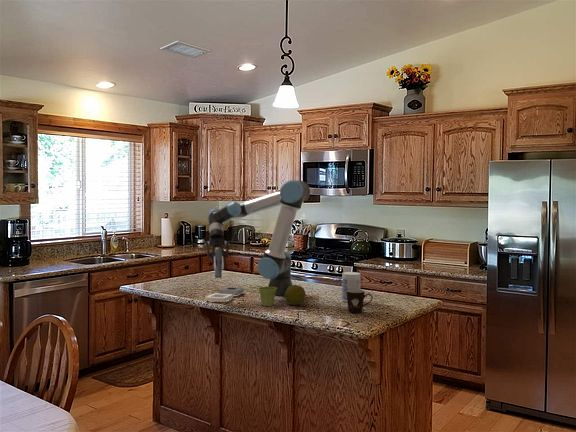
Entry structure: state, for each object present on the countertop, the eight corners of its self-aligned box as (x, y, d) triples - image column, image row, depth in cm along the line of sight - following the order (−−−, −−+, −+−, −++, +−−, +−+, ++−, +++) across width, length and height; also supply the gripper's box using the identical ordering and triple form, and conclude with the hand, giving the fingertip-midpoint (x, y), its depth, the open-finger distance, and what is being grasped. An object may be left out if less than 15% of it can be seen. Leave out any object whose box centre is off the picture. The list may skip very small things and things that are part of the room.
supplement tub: (339, 302, 268) (339, 273, 267) (345, 298, 276) (345, 271, 276) (357, 304, 264) (357, 275, 263) (362, 300, 272) (362, 272, 272)
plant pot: (254, 305, 261) (254, 287, 261) (269, 302, 267) (269, 285, 267) (265, 308, 254) (265, 290, 254) (280, 305, 260) (280, 288, 260)
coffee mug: (342, 312, 244) (342, 291, 244) (351, 309, 252) (351, 288, 251) (365, 315, 238) (365, 294, 237) (373, 312, 245) (373, 291, 245)
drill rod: (222, 277, 273) (222, 248, 272) (219, 278, 270) (219, 249, 269) (216, 276, 274) (216, 248, 273) (213, 277, 271) (213, 248, 270)
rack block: (233, 299, 276) (233, 294, 276) (224, 303, 265) (224, 298, 265) (214, 297, 279) (214, 293, 279) (204, 302, 269) (204, 297, 268)
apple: (284, 306, 257) (284, 284, 257) (286, 302, 267) (286, 281, 266) (304, 307, 256) (304, 285, 256) (306, 303, 266) (306, 281, 265)
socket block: (243, 293, 291) (243, 287, 290) (236, 297, 281) (236, 290, 281) (227, 292, 294) (227, 286, 293) (219, 296, 284) (219, 289, 284)
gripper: (231, 237, 288) (234, 271, 272) (200, 237, 284) (202, 272, 269) (232, 228, 282) (235, 262, 267) (201, 228, 279) (203, 263, 263)
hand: (218, 267), depth 268 cm, fingers closed on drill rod, 3 cm apart
